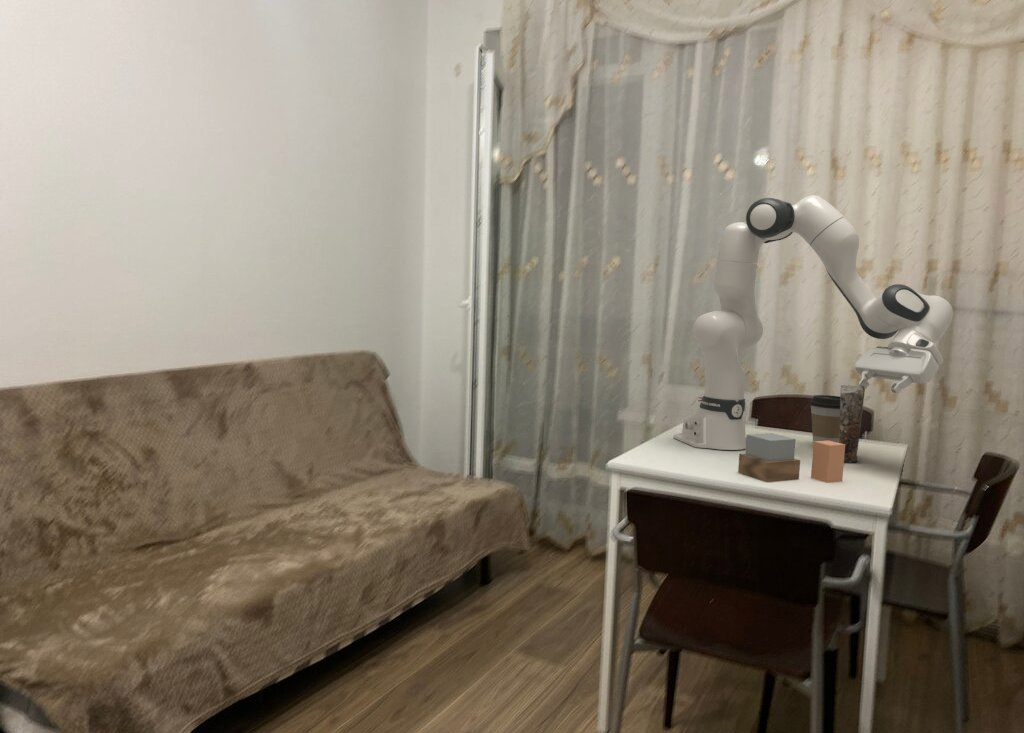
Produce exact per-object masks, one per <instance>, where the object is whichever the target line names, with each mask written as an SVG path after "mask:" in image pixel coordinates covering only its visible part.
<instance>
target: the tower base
mask: <svg viewBox="0 0 1024 733" xmlns="http://www.w3.org/2000/svg"><path fill="white" fill-rule="evenodd" d="M800 470H801V460H800V459H797V458H794V460H784V461H771V462H768V461H765V460H762V459H758V458H755V457H751V456H748V455H745V453H739V455H738V468H737V473H738V474H741V475H744V476H747V477H750V478H753V479H756V480H760V481H762V482H766V483H773V482H787V481H796V480H799V479H800Z"/></svg>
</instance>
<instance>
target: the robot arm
mask: <svg viewBox="0 0 1024 733" xmlns="http://www.w3.org/2000/svg"><path fill="white" fill-rule="evenodd" d="M745 215H746V216H745V221H744V222H743V221H739V222H738V221H736V222H733V223H730V224H729V225H727V226H726V227H725V229H723V233H722V236H721V239H720V243H719V247H718V250H717V251H718V252H717V257H716V260H717V261H716V264H715V265H716V266H715V274H714V281H713V282H714V283H713V288H714V291H715V293H716V294H717V296H718V299H719V303H720V304H719V305H720V310H713V311H710V312H706V313H704V314H700V315H699V316H698V317H697V318H696V320H695V321H694V323H693V327H692V334H693V335H692V336H693V338H694V340H695V342H696V344H697V345H698V346H699V347H700V350H701V353H702V357H703V362H704V370H705V374H704V375H705V377H704V378H705V380H704V381H705V382H704V395H703V396H702V397H698V400H697V401H698V402H700V403H699V408H698V409H696V410H695V411H694V412H693V413H691V414H689V415H688V416H687V417H686V418H685V419H684V421H683V424H682V431H681V433H676V434H674V435H673V438H674V439H676V440H677V441H680V442H682V443H684V444H687V445H689V446H692V447H694V448H701V449H703V448H704V449H713V450H723V451H740V450H741V451H742V450H746V438H747V436H746V418H745V415H744V413H745V411H746V405H747V404H746V398H745V391H746V390H745V387H746V386H745V385H746V370H745V368H744V367H743V366H742V364H741V362H740V357H739V353H738V352H739V351H738V350H742V349H747V348H749V347H753V346H754V345H756V344H757V343H758V342H760V341H761V339H762V337H763V333H764V327H763V323H762V321H761V319H760V318H759V316H758V312H757V307H756V298H755V287H756V278H757V277H756V276H757V270H758V269H757V268H758V262H759V259H758V258H759V253H760V248H761V246H762V245H763V244H768V243H769V244H770V243H773V242H777V241H781V240H785V239H786V238H788V237H790V236H791V235H792V234H793V233H795V234H797V235H799V236H800V237H801V238H803V239H804V241H805V242H806V243H807V244H808V245H809V247H810V248H811V249H812V250H813V251H814V252H815V254H816V255H817V256H818V257H819V259H820V261H821V262H822V264H823V266H824V268H825V269H826V272H827V274H828V276H829V278H830V279H831V280H832V282H833V283H834V285H835V286H836V287H837V289H838V290H839V292H840V293H841V294H842V296H843V297H844V299H845V300H846V301H847V303H848V304H849V305H850V306H851V308H852V309H853V311H854V313H855V314H856V317H857V319H858V322H859V325H860V327H861V329H862V330H863V332H864V333H866V334H867V335H868V336H869V337H872V338H873V339H874V338H875V339H878V340H887V339H890V338H892V337H893V338H892V339H891V341H889V343H888V345H887V346H876V347H874V348H870V349H869V350H867V351H866V352H865V353H864V354H862V355H861V356H860V357H859V359H857V361H856V362H855V363H854V368H855V371H856V372H857V373H858V375H859V376H860V377H861V380H860V381H859V382H858V386H860V388H865V389H868V387H869V386H870V382H869V380H871V379H872V378H877V379H882V380H889V381H890V380H892V381H898V382H896V383H895V382H894V383H893V384H892V386H890V391H891V392H892V393H893V394H900V392H902V390H903V389H905V388H907V387H909V386H911V385H912V383H914V384H920V385H925V384H926V383H929V382H931V380H933V378H934V377H935V375H936V374H937V372H938V371H939V368H940V366H941V365H942V364H943V363H944V358H943V356H942V354H941V352H940V351H939V348H938V347H937V346H936V345H935V343H937V342H939V340H940V339H941V338H942V337H943V335H944V334H945V332H946V331H947V329H949V326H950V325H951V323H952V320H953V317H954V309H953V306H952V305H951V304H950V302H949V301H948V300H947V299H945V298H944V297H942V296H940V295H935V294H934V295H933V294H932V295H927V294H923V293H920V292H917V291H916V290H914V289H913V288H911V287H910V286H908V285H906V284H900V283H899V284H892V285H889V286H888V287H886V288H884V290H883V291H882V292H881V293H880V294H879V295H878V296H877V297H876V296H875V295H874V293H873V292H872V291H871V289H870V288H869V286H867V284H866V283H865V282H864V281H863V279H862V278H861V276H860V275H859V272H858V269H857V256H858V250H859V247H860V238H859V234H858V232H857V231H856V229H855V227H854V226H853V224H852V223H851V222H850V221H849V220H848V219H847V218H846V217H845V216H844V215H843V214H842V213H841V212H840V211H839V210H838V209H837V208H836V207H834V206H833V205H832V204H831V203H829V202H828V201H827V200H825V199H824V198H823V197H821V196H819V195H816V194H812V195H808V196H807V195H806V196H805V197H803V198H802V199H799V201H798V202H796V203H794V204H792V203H790V202H788V201H785V200H782V199H780V198H773V197H765V198H760V199H758V200H756V201H755V202H753V203H752V204H751V205H750V206H749V207H748V209H747V211H746V214H745Z"/></svg>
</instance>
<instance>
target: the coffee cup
mask: <svg viewBox="0 0 1024 733" xmlns="http://www.w3.org/2000/svg"><path fill="white" fill-rule="evenodd" d="M808 405H809V406H810V409H811V410H810V413H811V415H810V416H811V431H812V444H813V445H814V441H833V442H837V443H839V435H840V396H838V395H828V394H827V395H826V394H817V395H816V394H814V395H813V398H812V399H811V400H810V401H809V404H808Z"/></svg>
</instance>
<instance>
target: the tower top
mask: <svg viewBox="0 0 1024 733" xmlns="http://www.w3.org/2000/svg"><path fill="white" fill-rule="evenodd" d="M796 441H797V440H796V438H792V437H788V436H785V435H782V434H781V435H780V434H776V433H772V432H767V433H753V434H752V433H751V434H746V448H745V453H744V454H745V455H748V456H751V457H755V458H758V459H762V460H765V461H768V462H771V461H784V460H794V459H795V455H796Z"/></svg>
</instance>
